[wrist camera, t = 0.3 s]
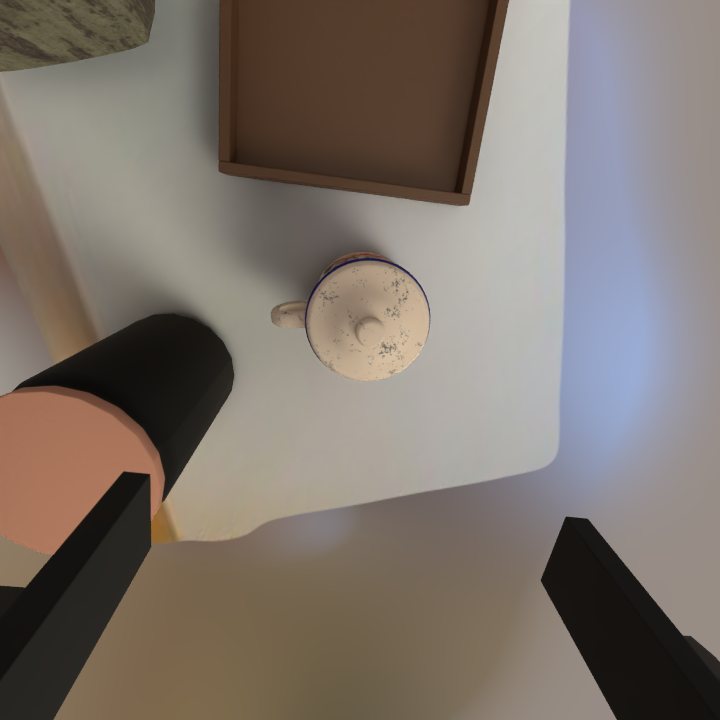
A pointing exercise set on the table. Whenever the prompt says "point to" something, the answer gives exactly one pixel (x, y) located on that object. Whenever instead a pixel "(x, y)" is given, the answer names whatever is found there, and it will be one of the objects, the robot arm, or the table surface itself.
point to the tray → (358, 93)
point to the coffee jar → (107, 424)
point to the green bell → (69, 30)
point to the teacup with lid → (362, 317)
